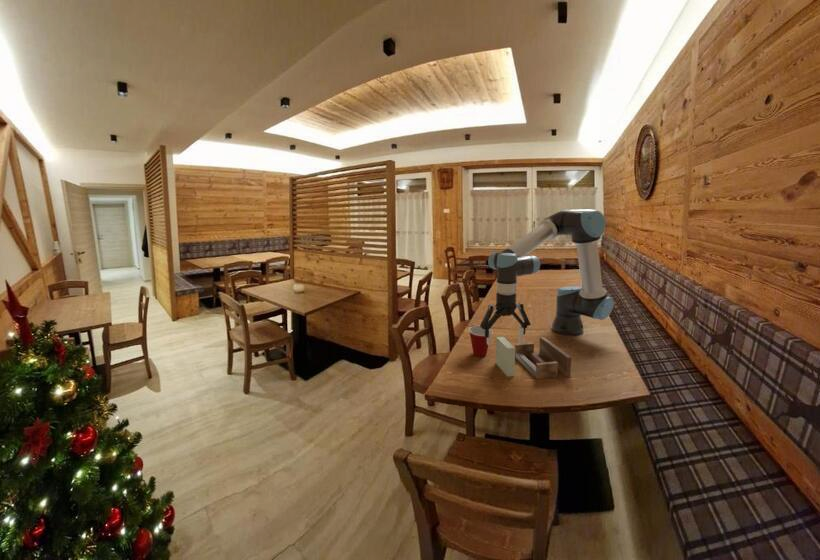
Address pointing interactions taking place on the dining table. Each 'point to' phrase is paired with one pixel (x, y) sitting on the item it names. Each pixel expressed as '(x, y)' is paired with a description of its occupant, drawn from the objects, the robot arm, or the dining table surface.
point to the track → (543, 369)
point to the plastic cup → (478, 341)
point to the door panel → (505, 356)
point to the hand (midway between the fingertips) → (504, 343)
